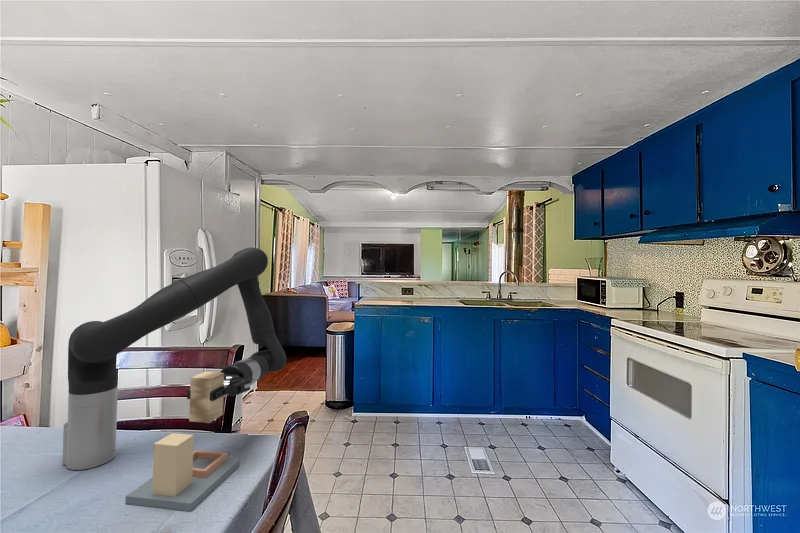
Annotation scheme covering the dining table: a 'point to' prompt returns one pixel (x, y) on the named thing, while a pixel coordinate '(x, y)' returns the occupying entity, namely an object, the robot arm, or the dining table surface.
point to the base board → (186, 494)
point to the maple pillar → (205, 397)
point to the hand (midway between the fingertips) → (200, 395)
